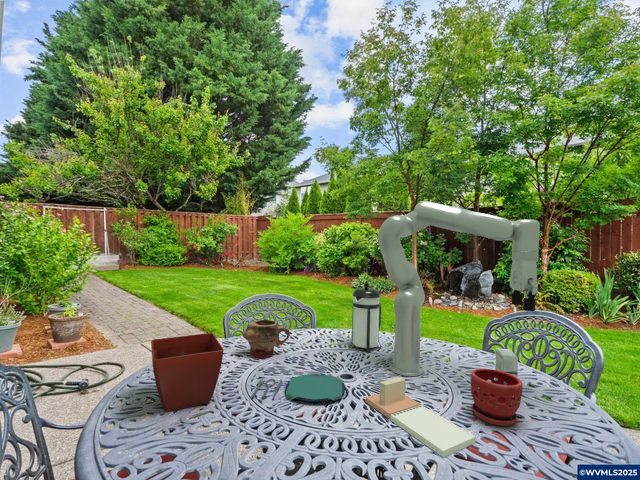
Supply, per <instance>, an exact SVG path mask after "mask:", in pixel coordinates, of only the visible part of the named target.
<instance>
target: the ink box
mask: <svg viewBox="0 0 640 480" xmlns="http://www.w3.org/2000/svg"><path fill="white" fill-rule="evenodd" d="M518 361H519V358H518V356H517V355H516V354H515V353H514V352H513V351H512V350H511V349H508V348H499V347H498V348H497V347H496V348H495V370H498V371H502V372H505V373H508V374H511V375H513V376H515V377H517V378H518V377H519V375H518V374H519V373H518V370H519V369H518V368H519V367H518V366H519V363H518ZM518 379H519V378H518ZM494 380H495V381H498V379H497V378H494ZM504 384H505V385H507V383H506V382H504Z"/></svg>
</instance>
